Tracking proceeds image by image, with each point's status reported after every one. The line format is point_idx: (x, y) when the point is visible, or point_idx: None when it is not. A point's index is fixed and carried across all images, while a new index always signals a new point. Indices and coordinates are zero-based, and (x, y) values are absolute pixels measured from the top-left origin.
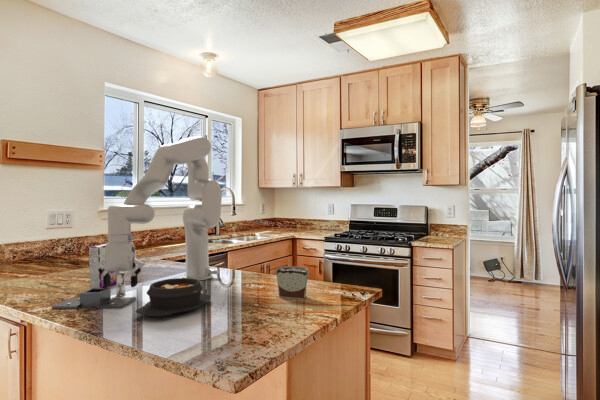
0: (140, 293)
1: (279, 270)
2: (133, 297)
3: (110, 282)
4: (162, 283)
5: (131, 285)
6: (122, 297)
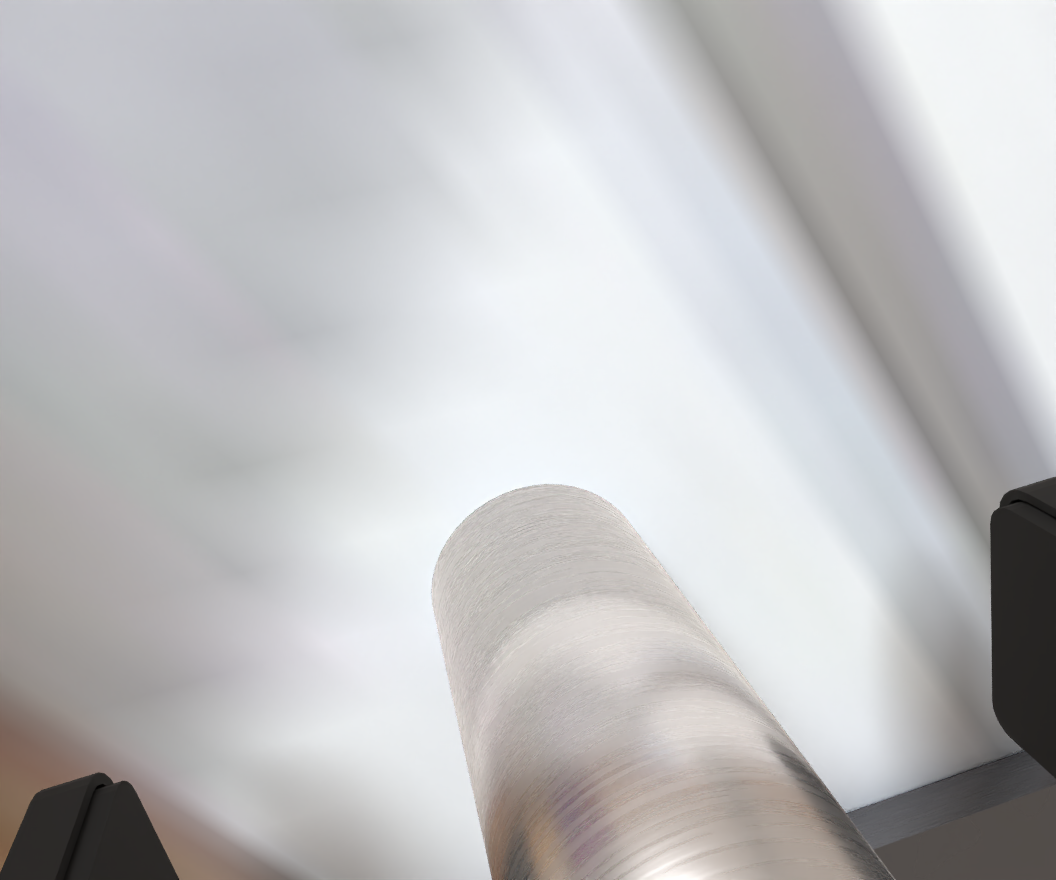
0: (934, 313)
1: None
2: (1054, 788)
3: (98, 850)
4: None
5: (1050, 754)
6: None
